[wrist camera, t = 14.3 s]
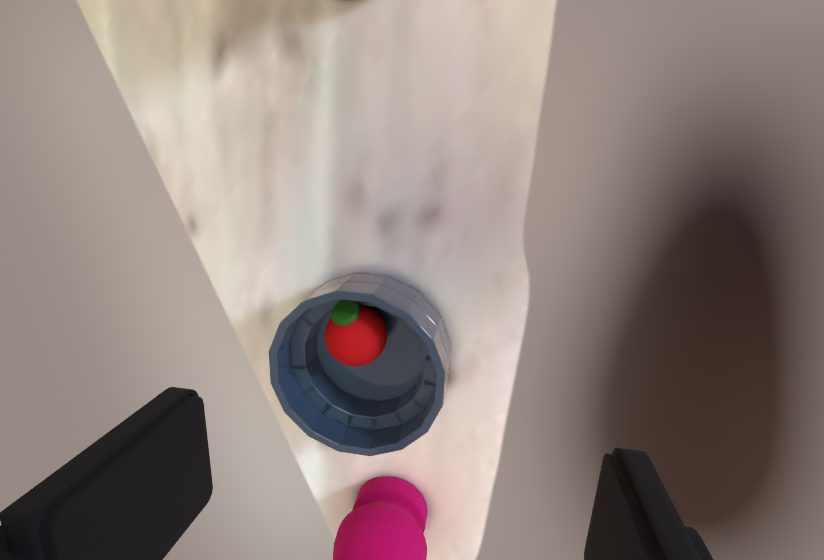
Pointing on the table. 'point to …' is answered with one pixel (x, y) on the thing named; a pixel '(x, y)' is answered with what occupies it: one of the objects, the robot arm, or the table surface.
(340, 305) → the strawberry
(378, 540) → the pepper mill
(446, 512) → the table surface
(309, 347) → the bowl
